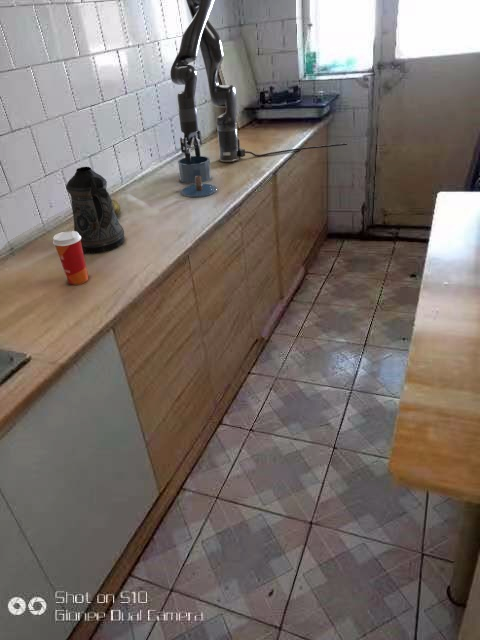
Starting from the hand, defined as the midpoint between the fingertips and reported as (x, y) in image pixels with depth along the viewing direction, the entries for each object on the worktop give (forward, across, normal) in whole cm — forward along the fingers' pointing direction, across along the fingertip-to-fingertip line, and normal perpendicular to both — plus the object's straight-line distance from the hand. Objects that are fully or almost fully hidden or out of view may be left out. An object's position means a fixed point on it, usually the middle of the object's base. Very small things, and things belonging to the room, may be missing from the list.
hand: (193, 159), depth 206 cm
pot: (+9, 0, 0) cm, 9 cm away
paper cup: (+9, -92, -11) cm, 93 cm away
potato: (+9, -47, +11) cm, 49 cm away
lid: (+8, -15, -10) cm, 20 cm away
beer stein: (+9, -68, -2) cm, 69 cm away
